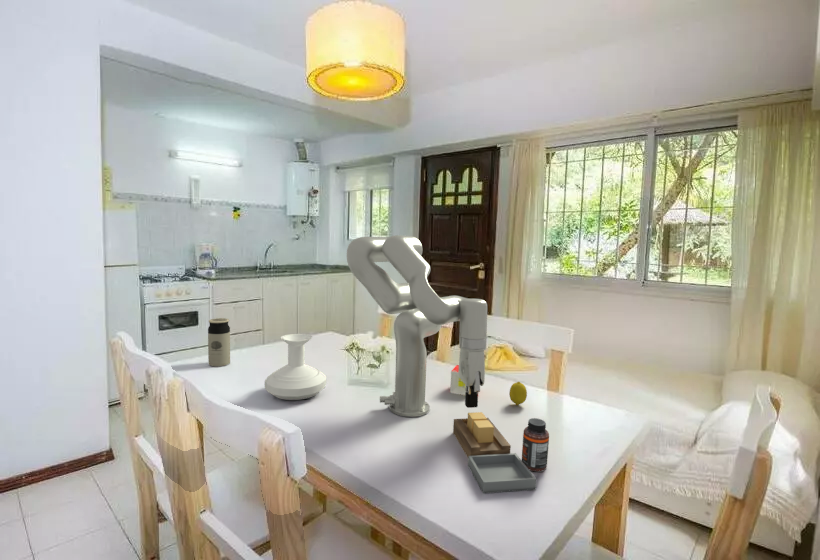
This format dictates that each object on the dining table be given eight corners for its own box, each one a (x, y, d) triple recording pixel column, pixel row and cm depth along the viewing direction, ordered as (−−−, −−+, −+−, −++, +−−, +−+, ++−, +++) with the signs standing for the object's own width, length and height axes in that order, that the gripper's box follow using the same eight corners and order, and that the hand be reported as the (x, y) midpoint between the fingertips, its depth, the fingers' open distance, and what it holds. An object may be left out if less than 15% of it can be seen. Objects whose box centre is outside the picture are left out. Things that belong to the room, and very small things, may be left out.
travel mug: (216, 360, 176) (215, 317, 174) (234, 361, 175) (233, 318, 173) (204, 366, 168) (203, 321, 166) (223, 367, 167) (222, 322, 165)
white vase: (323, 381, 156) (323, 329, 154) (329, 402, 137) (330, 343, 135) (265, 385, 150) (265, 331, 148) (264, 408, 131) (264, 346, 129)
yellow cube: (471, 433, 112) (472, 419, 112) (467, 426, 116) (467, 412, 116) (486, 433, 113) (487, 418, 113) (481, 426, 117) (482, 412, 117)
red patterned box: (450, 392, 149) (451, 371, 148) (455, 385, 157) (456, 364, 156) (472, 396, 147) (473, 374, 146) (477, 389, 154) (478, 367, 153)
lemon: (526, 409, 137) (528, 385, 136) (508, 407, 138) (510, 383, 137) (525, 403, 142) (527, 379, 142) (508, 401, 144) (509, 378, 143)
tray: (483, 493, 92) (483, 482, 91) (467, 465, 102) (468, 455, 102) (535, 489, 94) (536, 478, 93) (515, 462, 104) (515, 453, 104)
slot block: (470, 463, 103) (471, 447, 103) (453, 432, 119) (453, 418, 119) (509, 461, 105) (510, 445, 105) (487, 431, 121) (488, 417, 120)
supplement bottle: (517, 459, 106) (520, 415, 105) (541, 459, 106) (544, 415, 105) (526, 473, 100) (529, 426, 99) (550, 472, 101) (554, 426, 99)
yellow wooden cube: (477, 442, 108) (478, 427, 107) (472, 435, 111) (473, 420, 111) (492, 442, 108) (493, 427, 108) (487, 434, 112) (488, 420, 112)
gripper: (452, 337, 126) (451, 397, 128) (467, 350, 112) (466, 418, 113) (477, 336, 128) (475, 396, 129) (495, 349, 113) (493, 416, 115)
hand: (471, 406), depth 121 cm, fingers closed
